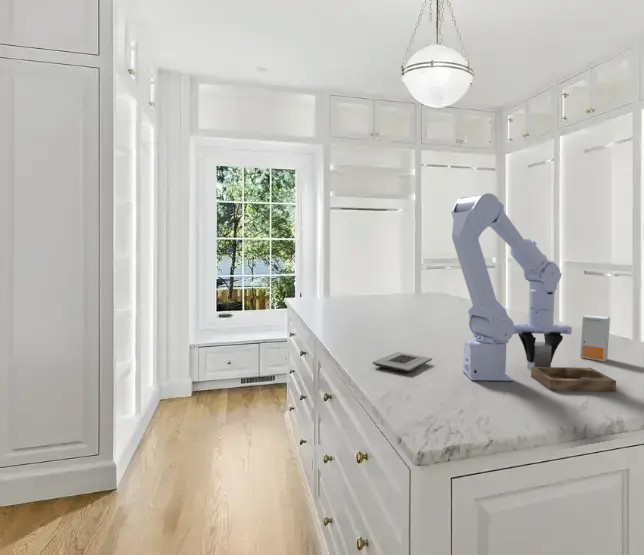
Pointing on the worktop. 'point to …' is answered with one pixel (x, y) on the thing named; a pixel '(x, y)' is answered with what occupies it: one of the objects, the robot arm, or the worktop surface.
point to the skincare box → (595, 337)
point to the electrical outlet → (402, 361)
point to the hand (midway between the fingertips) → (539, 361)
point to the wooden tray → (573, 379)
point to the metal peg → (541, 355)
